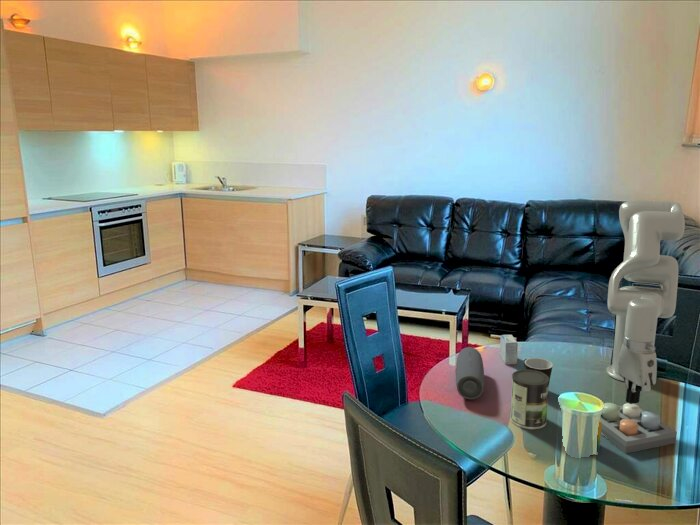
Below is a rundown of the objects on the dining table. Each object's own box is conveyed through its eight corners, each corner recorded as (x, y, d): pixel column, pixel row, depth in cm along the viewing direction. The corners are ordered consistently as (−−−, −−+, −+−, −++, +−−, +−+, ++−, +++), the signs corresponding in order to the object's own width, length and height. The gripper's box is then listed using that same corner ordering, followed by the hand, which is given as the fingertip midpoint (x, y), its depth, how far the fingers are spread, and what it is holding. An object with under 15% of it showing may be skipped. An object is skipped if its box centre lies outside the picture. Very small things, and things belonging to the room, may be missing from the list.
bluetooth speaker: (455, 370, 193) (456, 344, 191) (482, 372, 191) (483, 346, 189) (454, 402, 172) (455, 373, 169) (484, 404, 170) (485, 375, 167)
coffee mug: (552, 398, 171) (554, 370, 169) (524, 397, 173) (526, 368, 171) (547, 382, 182) (549, 354, 180) (520, 380, 184) (522, 353, 182)
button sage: (611, 411, 156) (612, 401, 155) (622, 419, 152) (623, 409, 151) (598, 414, 155) (599, 404, 154) (609, 421, 151) (610, 411, 150)
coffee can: (550, 416, 161) (553, 373, 158) (542, 433, 153) (544, 388, 149) (515, 408, 167) (517, 366, 163) (505, 423, 158) (507, 379, 155)
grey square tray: (631, 414, 161) (632, 403, 160) (675, 443, 146) (676, 431, 145) (585, 422, 157) (586, 411, 157) (625, 453, 142) (626, 441, 142)
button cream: (631, 412, 158) (632, 402, 157) (643, 419, 154) (644, 409, 153) (618, 414, 157) (619, 404, 156) (629, 422, 153) (631, 411, 152)
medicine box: (517, 364, 196) (518, 342, 194) (504, 365, 196) (505, 342, 194) (511, 355, 204) (512, 334, 202) (499, 356, 204) (500, 334, 202)
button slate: (650, 420, 151) (651, 409, 150) (663, 428, 147) (664, 417, 146) (637, 422, 150) (638, 412, 149) (649, 431, 146) (650, 420, 145)
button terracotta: (628, 428, 150) (630, 418, 149) (640, 436, 146) (642, 426, 145) (615, 430, 149) (616, 420, 148) (627, 439, 145) (628, 428, 144)
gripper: (671, 352, 144) (663, 413, 149) (630, 331, 158) (624, 387, 163) (647, 356, 142) (640, 417, 147) (608, 334, 156) (603, 391, 161)
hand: (632, 401), depth 155 cm, fingers closed
